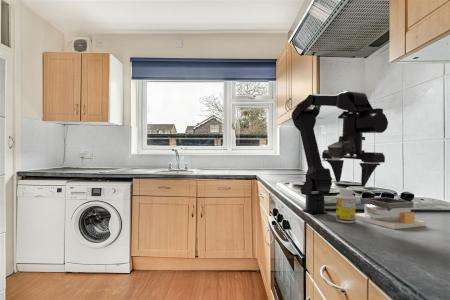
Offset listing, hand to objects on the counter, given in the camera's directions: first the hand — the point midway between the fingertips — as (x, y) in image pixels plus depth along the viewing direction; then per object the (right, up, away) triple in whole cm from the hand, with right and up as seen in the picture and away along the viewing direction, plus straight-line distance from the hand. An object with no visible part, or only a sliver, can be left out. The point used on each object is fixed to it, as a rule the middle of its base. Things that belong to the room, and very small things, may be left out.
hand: (350, 184), depth 98 cm
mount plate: (+13, -12, +3) cm, 18 cm away
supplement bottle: (-1, -12, +2) cm, 12 cm away
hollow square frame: (+13, -11, +2) cm, 17 cm away
